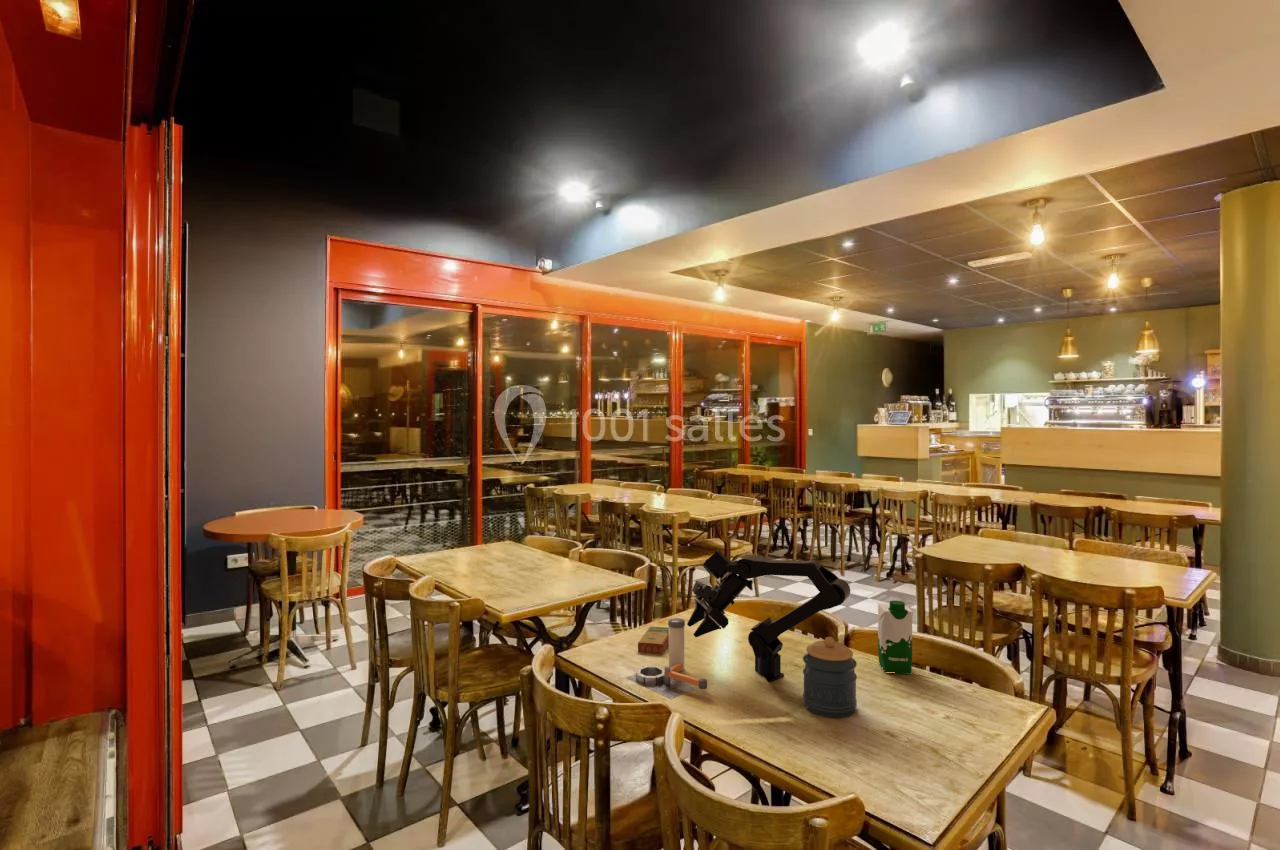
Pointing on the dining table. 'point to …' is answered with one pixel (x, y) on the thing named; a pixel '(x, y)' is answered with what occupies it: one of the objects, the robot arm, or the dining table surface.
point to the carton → (654, 640)
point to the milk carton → (895, 637)
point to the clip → (682, 676)
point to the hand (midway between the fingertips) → (691, 630)
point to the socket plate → (660, 682)
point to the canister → (829, 679)
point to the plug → (676, 641)
